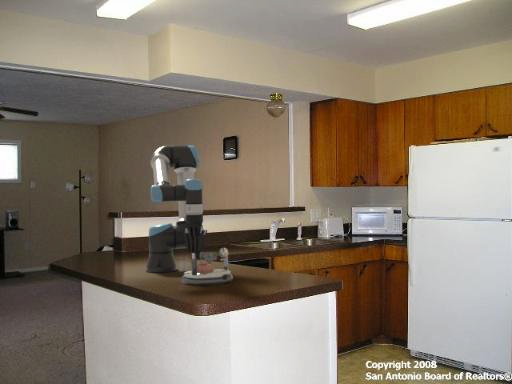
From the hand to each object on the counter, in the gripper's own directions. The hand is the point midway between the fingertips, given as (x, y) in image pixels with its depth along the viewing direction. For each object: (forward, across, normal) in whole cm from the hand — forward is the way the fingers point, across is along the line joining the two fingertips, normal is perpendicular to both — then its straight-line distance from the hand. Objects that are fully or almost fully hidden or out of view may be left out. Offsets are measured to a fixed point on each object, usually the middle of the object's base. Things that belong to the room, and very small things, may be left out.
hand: (195, 267), depth 225 cm
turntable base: (+5, +7, 0) cm, 9 cm away
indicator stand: (+5, +6, +13) cm, 16 cm away
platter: (+3, +8, 0) cm, 8 cm away
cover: (+2, +5, 0) cm, 5 cm away
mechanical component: (+6, -8, +17) cm, 19 cm away
